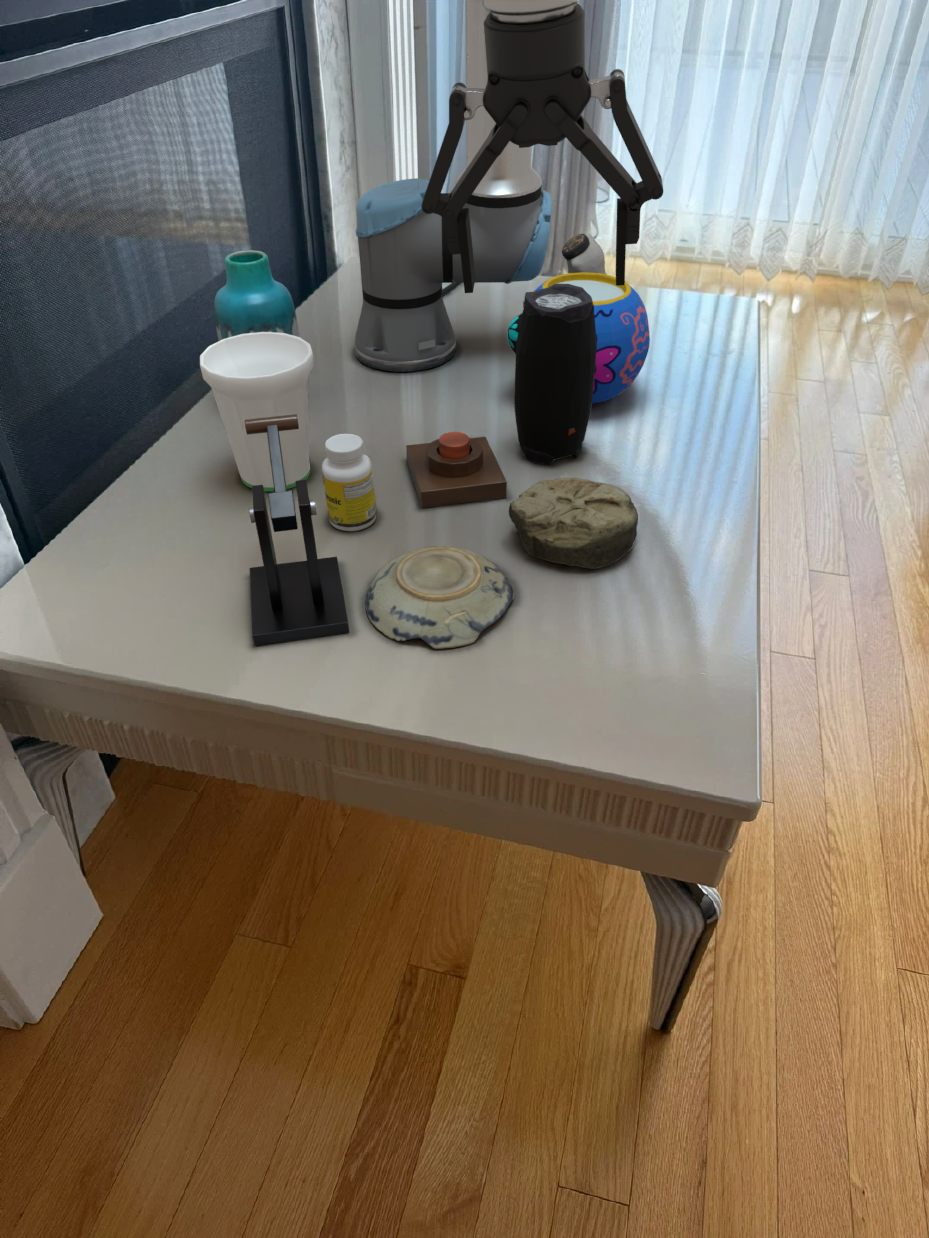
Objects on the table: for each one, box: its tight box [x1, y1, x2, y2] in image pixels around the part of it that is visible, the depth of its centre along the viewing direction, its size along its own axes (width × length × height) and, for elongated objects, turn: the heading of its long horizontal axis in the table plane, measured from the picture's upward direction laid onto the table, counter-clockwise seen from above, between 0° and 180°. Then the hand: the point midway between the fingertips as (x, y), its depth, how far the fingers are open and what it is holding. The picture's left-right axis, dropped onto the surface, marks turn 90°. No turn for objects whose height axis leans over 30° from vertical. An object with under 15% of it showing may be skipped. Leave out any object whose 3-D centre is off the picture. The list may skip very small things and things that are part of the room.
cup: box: [199, 332, 315, 493], centre depth 104 cm, size 12×12×15 cm
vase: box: [213, 249, 301, 342], centre depth 119 cm, size 11×11×19 cm
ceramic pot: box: [506, 272, 651, 405], centre depth 120 cm, size 18×18×15 cm
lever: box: [245, 414, 299, 533], centre depth 85 cm, size 12×5×2 cm, turn 12°
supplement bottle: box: [321, 433, 377, 532], centre depth 98 cm, size 5×5×10 cm
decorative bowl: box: [364, 546, 515, 650], centre depth 89 cm, size 15×4×15 cm
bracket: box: [248, 480, 350, 647], centre depth 86 cm, size 11×9×13 cm
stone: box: [508, 477, 639, 570], centre depth 97 cm, size 13×13×5 cm
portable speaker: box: [513, 284, 597, 466], centre depth 107 cm, size 9×9×20 cm
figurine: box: [561, 233, 608, 275], centre depth 135 cm, size 9×10×15 cm
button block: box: [405, 436, 507, 509], centre depth 107 cm, size 11×10×4 cm
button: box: [438, 431, 471, 459], centre depth 105 cm, size 4×4×2 cm
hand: (544, 282), depth 82 cm, fingers open, 13 cm apart
